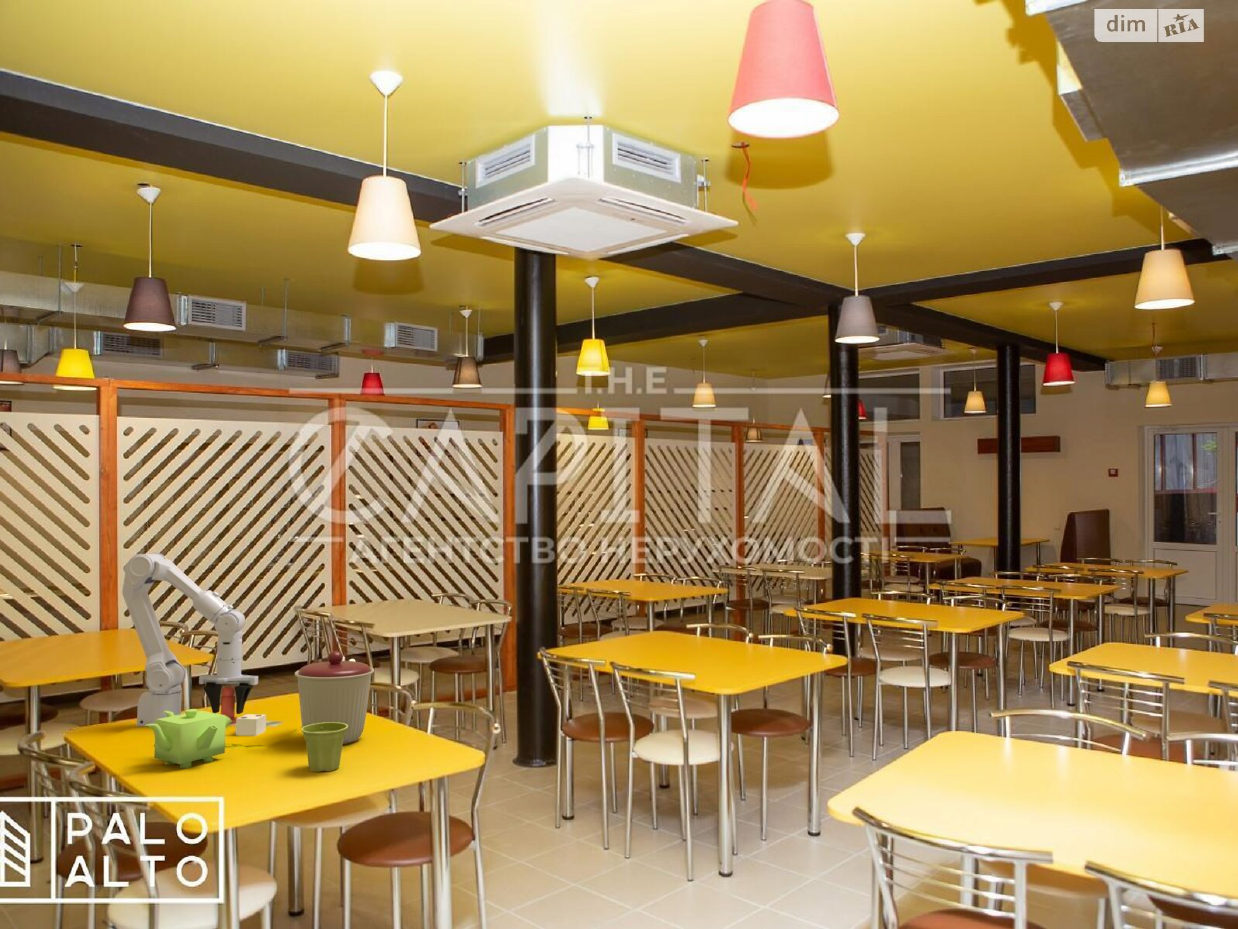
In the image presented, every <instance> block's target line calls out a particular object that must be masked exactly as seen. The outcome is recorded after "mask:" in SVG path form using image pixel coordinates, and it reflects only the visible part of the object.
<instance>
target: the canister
mask: <svg viewBox="0 0 1238 929" xmlns="http://www.w3.org/2000/svg"><path fill="white" fill-rule="evenodd" d="M343 657H344V654H343V653H342V652H341V651H337V650H336V651H331V652H329V653H328V655H327V661H321V662H315V663H310V664H306V665H304V666H302V667H301V668H300V669H298V670H296V671H295V672H294V676H295V677H296V678H297V685H298V686H297V687H298V696H299V697H298V698H299V699H298V700H299V710H300V711H299V712H300V722H301V729H302V728H303V727H304V726H307V725H310V724H316V723H324V722H338V723H345V724H347V725H348V728H347V729H346V732H345V735H344V739H343V745H345V744H346V745H347V744H350V743H353V742H356V741H357V740H359V739H360V738H361V736H362V734H363V732H364V730H365V723H366V718H367V710H368V703H369V698H370V697H369V694H370V688H371V680H372V674H373V673H374V672H375V669H374V668H373V667H371V666H369V665H368V664H366V663H364V662H360V661H355V662H354V661H349V660H344V661H342V659H343Z"/></svg>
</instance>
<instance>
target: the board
mask: <svg viewBox="0 0 1238 929" xmlns="http://www.w3.org/2000/svg"><path fill="white" fill-rule="evenodd" d="M282 723H285V721H283V720H282V721H278V720H274V721H272V720H266V727H277V726H279V725H280V724H281V725H282ZM228 726H235V727H236V723H234V724H229V725H228Z"/></svg>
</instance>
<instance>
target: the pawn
mask: <svg viewBox="0 0 1238 929" xmlns="http://www.w3.org/2000/svg"><path fill="white" fill-rule="evenodd" d="M235 707H236V692H235V687H234V686H232V685H226V686H225V687H224V688H223V689H221V696H220V714H221V715H225V716H227V717H228V718H230V719H231V721H232V722H231V723H230V724H234V723H236V719H237V718H238V717H237V716H236V715H235V713H236V711H235V710H236V708H235ZM234 725H235V724H234Z"/></svg>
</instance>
